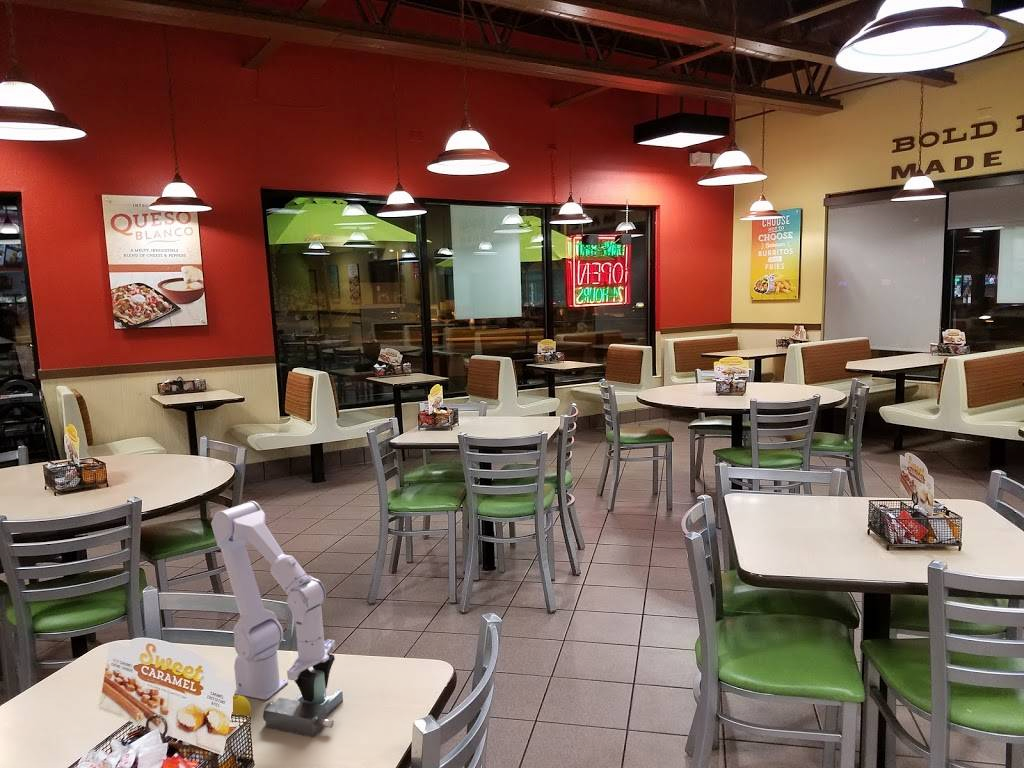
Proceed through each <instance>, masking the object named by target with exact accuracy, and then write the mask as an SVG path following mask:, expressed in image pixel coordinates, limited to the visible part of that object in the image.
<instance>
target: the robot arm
mask: <svg viewBox="0 0 1024 768" xmlns="http://www.w3.org/2000/svg"><path fill="white" fill-rule="evenodd" d="M210 525H211V528H212V531H213V535H214V538H215V541H216V546H217V547H218V548H219V549H220V551H221V552H220V553H221V554H222V559H223V561H224V565H225V568H226V572H227V575H228V578H229V581H230V585H231V589H232V592H233V594H234V599H235V602H236V605H237V606H236V607H237V609H238V611H239V619H238V620H237V622H236V624H235V625H234V627H233V629H232V632H233V639H234V642H233V647H234V650H235V653H236V654H237V656H236V658H235V660H234V663H233V664H234V665H233V668H234V677H235V688H236V690H234V691H235V694H234V695H241V696H244V697H248V698H249V697H250V698H254V699H259V700H264V701H265V700H268V699H269V698H271V697H272V696H273V695H275V694H276V693H277V692H278V691H279V690H280V689H282V688H283V687H284V686H286V684H288V683H289V680H290V681H294V682H295V684H296V686H297V687H298V689H299V691H300V694H302V696H303V699H304V701H309V702H312V701H313V699H314V681H315V677H316V674H317V673H314V672H310V671H311V669H310V668H312V670H322V671H324V677H325V688H326V689H327V688H328V683H329V678H330V673H331V669H332V666H333V664H334V662H335V657H336V656H335V655H334V654H330V651H334V650H335V649H336V641H335V640H334V639H326V640H325V636H324V626H323V625H324V624H323V623H324V622H323V614H322V613H323V612H322V604H323V603H324V602H325V601H326V598H327V592H326V588H325V587H324V584H323V583H322V581H321V580H320V579H318V578H317V577H316V578H315V577H313V576H312V575H308V574H307V572H306V571H305V570H304V568H302V566H301V565H300V564H299V562H298V561H297V560H296V558H295V557H294V556H293V555H291V554H290V555H289V554H285V553H284V551H283V550H282V548H281V546H280V545H279V543H278V542H277V541H276V539H275V537H274V536H273V534H272V533H271V531H270V529H268V526H267V525H266V513H265V512H264V510H263V509H262V508H261V506H260V504H259V503H258V502H257V501H254V500H248V501H246V502H244V503H242V504H239V505H236V506H232V507H230V508H226V509H224V510H219V511H216V513H215V514H214V516H213V518H212V520H211V522H210ZM247 542H250V543H251V544H252V545H253V546H254V547H255V549H257V551H258V552H259V553H260V555H262V556H263V557H264V559H265V560H267V562H268V563H269V564H270V574H271V575H272V577H273V578H274V580H275V581H276V582H277V583H278V585H280V587H281V589H282V590H283V592H284V593H285V594H286V595H287V599H286V604H287V607H288V609H289V610H290V612H291V617H292V619H293V621H294V626H295V636H296V645H297V646H296V647H297V657H296V658H295V660H294V661H293V663H292V665H291V667H290V668H289V669H288V670H286V673H287V679H282V678H280V671H279V659H278V658H279V657H278V649H279V648H280V644H281V643H282V641H283V638H284V630H283V627H282V624H281V623H280V622H279V620H278V617H277V616H276V613H275V612H274V611H272V610H269V609H266V608H264V604H263V601H262V597H261V594H260V590H259V587H258V584H257V580H256V577H255V574H254V570H253V567H252V564H251V559H250V558H249V554H248V553H249V552H248V551H247V550H248V549H247V547H246V543H247Z"/></svg>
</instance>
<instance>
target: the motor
mask: <svg viewBox="0 0 1024 768" xmlns="http://www.w3.org/2000/svg"><path fill="white" fill-rule="evenodd" d="M343 701H344V695H343V690H341V689H338V690H337V691H335V692H334V693H333V694H332V695H331V696H328V695H326V701H325V702H324V703H322V704H320V705H316V704H311V703H306V701H304V699H303V696H302V694H301V693H299V695H297V696H296V697H295V698H293V699H289V698H284V697H278V698H277V699H276V700H275V701H270V702H268V703H267V704H266V705H265V707H264V708H263V709H264V710H263V713H262V717H263V718H262V719H263V721H264V722H265V728H267V729H271V730H275V731H280V732H285V733H289V734H295V735H299V736H303V737H309V738H314V737H315V736H316V735H317V734H318V733H320V731H322V730H323V728H325V727H326V728H328V729H332V728H333V725H334V720H332V719H327V717H328V716H329V715H330V714H331V713H332V712H333V711H334V710H335V709H336V708H337V707H338V706H340V704H342V703H343Z"/></svg>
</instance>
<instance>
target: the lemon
mask: <svg viewBox="0 0 1024 768" xmlns="http://www.w3.org/2000/svg"><path fill="white" fill-rule="evenodd" d="M232 697H233V712H232V713H233V714H239V715H245V716H249V717H250V719H252V718H251V716H252V708H251V703H250V701H249V700H248V699H247V697H246V696H243V695H238V694H234V695H233V696H232Z"/></svg>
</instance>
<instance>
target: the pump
mask: <svg viewBox="0 0 1024 768" xmlns="http://www.w3.org/2000/svg"><path fill="white" fill-rule="evenodd" d="M310 672H314V673H317V674H316V677H315V681H314V699H313V701H312V702H309V701H306V703H311V704H316V705H320V704H322V703H324V702H325V701H326V696H327V688H325V677H324V671H322V670H314V669H310Z"/></svg>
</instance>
